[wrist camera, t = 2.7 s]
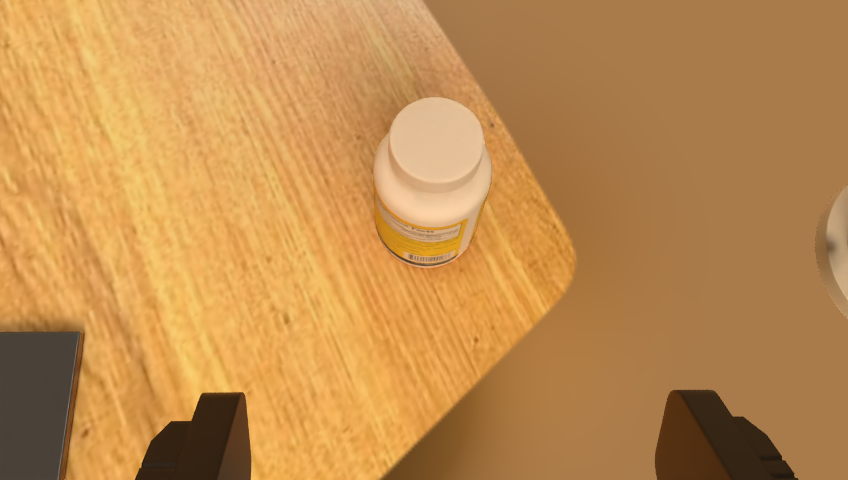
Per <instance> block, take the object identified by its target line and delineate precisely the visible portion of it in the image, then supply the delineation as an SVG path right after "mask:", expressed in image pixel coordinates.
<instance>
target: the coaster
mask: <svg viewBox="0 0 848 480" xmlns="http://www.w3.org/2000/svg"><path fill="white" fill-rule="evenodd" d="M83 340H84V334H83V333H81V332H0V480H64V476H65V469H66V462H67V455H68V447H69V440H70V433H71V426H72V419H73V412H74V405H75V397H76V390H77V383H78V376H79V369H80V362H81V354H82V347H83Z"/></svg>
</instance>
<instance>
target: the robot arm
mask: <svg viewBox="0 0 848 480" xmlns="http://www.w3.org/2000/svg"><path fill="white" fill-rule="evenodd" d="M655 468H656V475H657V480H798V478H795V477H794V473H793V471H792V470H791V468H790V467H789V466H788V464H787V463H786V461H783V460H782V456H781V454H780V453H779V452H778V450H777V449H776V447H775V446H774V444H773V443H772V442H771V440H770V439H769V438H768V436H767V435H766V434H765V433H763V432H762V431H761V430H760V429H758V428H757V427H756V426H754V425H753V424H752V423H751V422H749V421H748V420H746V419H745V418H744V417H732V415H731V414H730V412H729V411H728V409H727V408H726V406H725V405H724V403H723V402H722V400H721V399H720V397H719V396H718V394H717V393H716V392H715V391H713V390H673V391H671V392H670V394H669V396H668V398H667V402H666V407H665V411H664V416H663V420H662V425H661V429H660V434H659V439H658V443H657V448H656V454H655ZM135 480H251V450H250V439H249V429H248V418H247V407H246V399H245V395H244V393H243V392H235V393H202V394H201V396H200V398H199V401H198V404H197V407H196V409H195V412H194V415H193V418H192V421H171V422H170V423H169V424H168V425H167V426H166V427H165V428H164V429H163V430H162V431H161V432H160V433H159V434H158V435H157V436H156V437H155V438H154V439H153V440H152V441H151V442H150V445H149V447H148V450H147V452H146V454H145V457H144V459H143V462H142V467H141V468H140V469H139V471H138V474H137V476H136V478H135Z"/></svg>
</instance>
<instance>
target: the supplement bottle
mask: <svg viewBox="0 0 848 480" xmlns="http://www.w3.org/2000/svg"><path fill="white" fill-rule="evenodd" d="M491 179H492V164H491V158H490V155H489V152H488V150H487V147H486V146H485V140H484V132H483V129H482V126H481V124H480V122H479V120H478V118H477V117H476V116H475V115H474V113H473V112H472V111H471V110H470V109H468V108H467V107H466V106H464V105H463V104H461V103H459V102H457V101H455V100H452V99H449V98H444V97H427V98H422V99H419V100H416V101H414V102H412V103H410V104H409V105H407V106H406V107H404V108H403V109H402V110H401V111H400V112H399V113H398V114H397V116H396V117H395V119H394V121H393V123H392V125H391V128H390V131H389V132H388V133H387V134H386V136H385V137H384V138H383V140H382V141H381V143H380V145H379V146H378V149H377V152H376V154H375V158H374V165H373V183H374V205H375V221H376V228H377V232H378V235H379V237H380V240H381V242H382V243H383V245H384V246H385V248H386V249H387V250H388V251H389V252H390V253H391V254H392V255H393V256H394V257H395V258H397V259H398V260H400V261H402V262H403V263H406V264H408V265H411V266H415V267H420V268H433V267H439V266H442V265H445V264H447V263H450V262H452V261H453V260H455V259H456V258H458V257H459V256H460V255H461V254H462V253H463V252H464V251H465V250H466V249H467V247H468V246H469V244H470V242H471V241H472V239H473V236H474V234H475V231H476V228H477V225H478V222H479V219H480V216H481V213H482V210H483V207H484V204H485V201H486V198H487V195H488V192H489V188H490V185H491Z"/></svg>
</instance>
